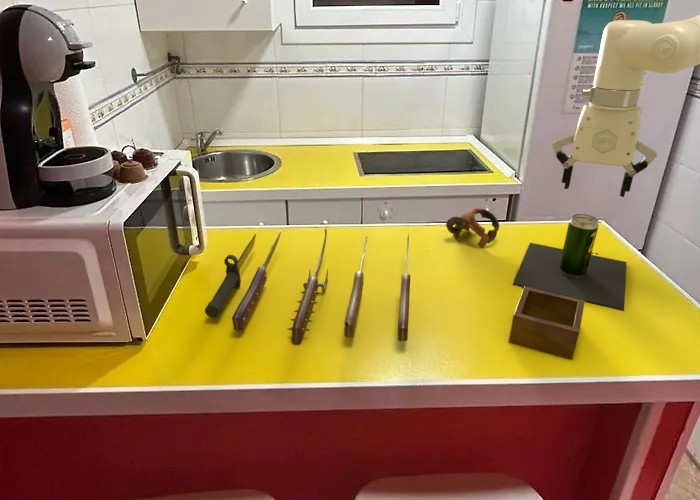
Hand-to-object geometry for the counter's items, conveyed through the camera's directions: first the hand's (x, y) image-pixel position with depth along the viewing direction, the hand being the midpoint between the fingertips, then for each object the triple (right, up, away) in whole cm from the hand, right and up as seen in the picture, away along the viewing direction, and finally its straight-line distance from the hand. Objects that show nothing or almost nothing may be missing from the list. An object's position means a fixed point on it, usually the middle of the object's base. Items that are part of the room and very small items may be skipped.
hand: (593, 190), depth 98 cm
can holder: (-13, -26, -9) cm, 30 cm away
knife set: (-52, -20, +2) cm, 56 cm away
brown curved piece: (-18, -9, +23) cm, 30 cm away
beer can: (0, -16, +9) cm, 18 cm away
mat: (0, -16, +9) cm, 18 cm away
